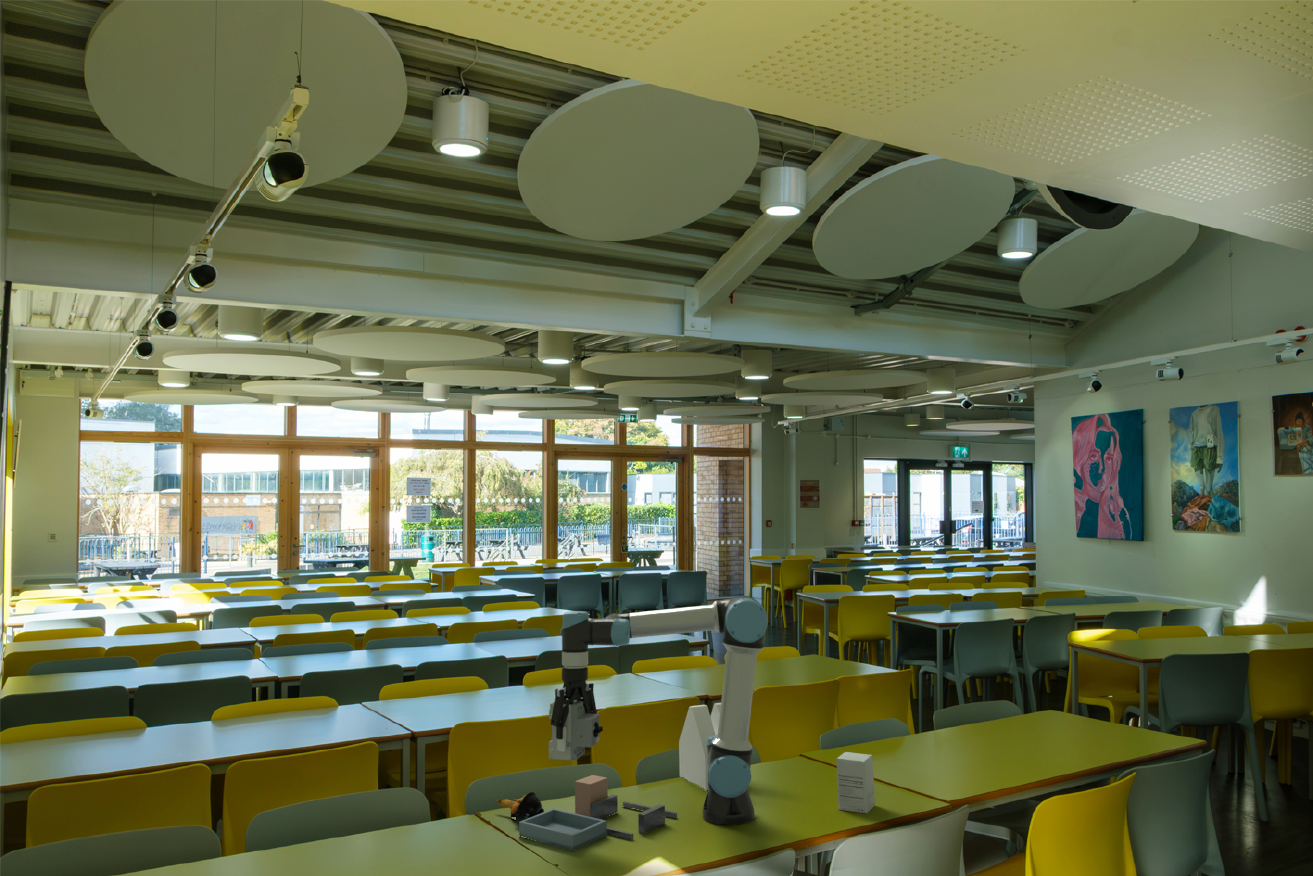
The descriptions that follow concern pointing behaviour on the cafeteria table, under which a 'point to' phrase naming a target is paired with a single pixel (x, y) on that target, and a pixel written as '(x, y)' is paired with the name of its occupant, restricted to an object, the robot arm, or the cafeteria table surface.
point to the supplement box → (855, 782)
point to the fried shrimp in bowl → (523, 806)
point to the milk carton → (697, 743)
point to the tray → (563, 829)
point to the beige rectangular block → (589, 793)
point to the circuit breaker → (576, 732)
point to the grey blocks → (646, 819)
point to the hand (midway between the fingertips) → (574, 747)
